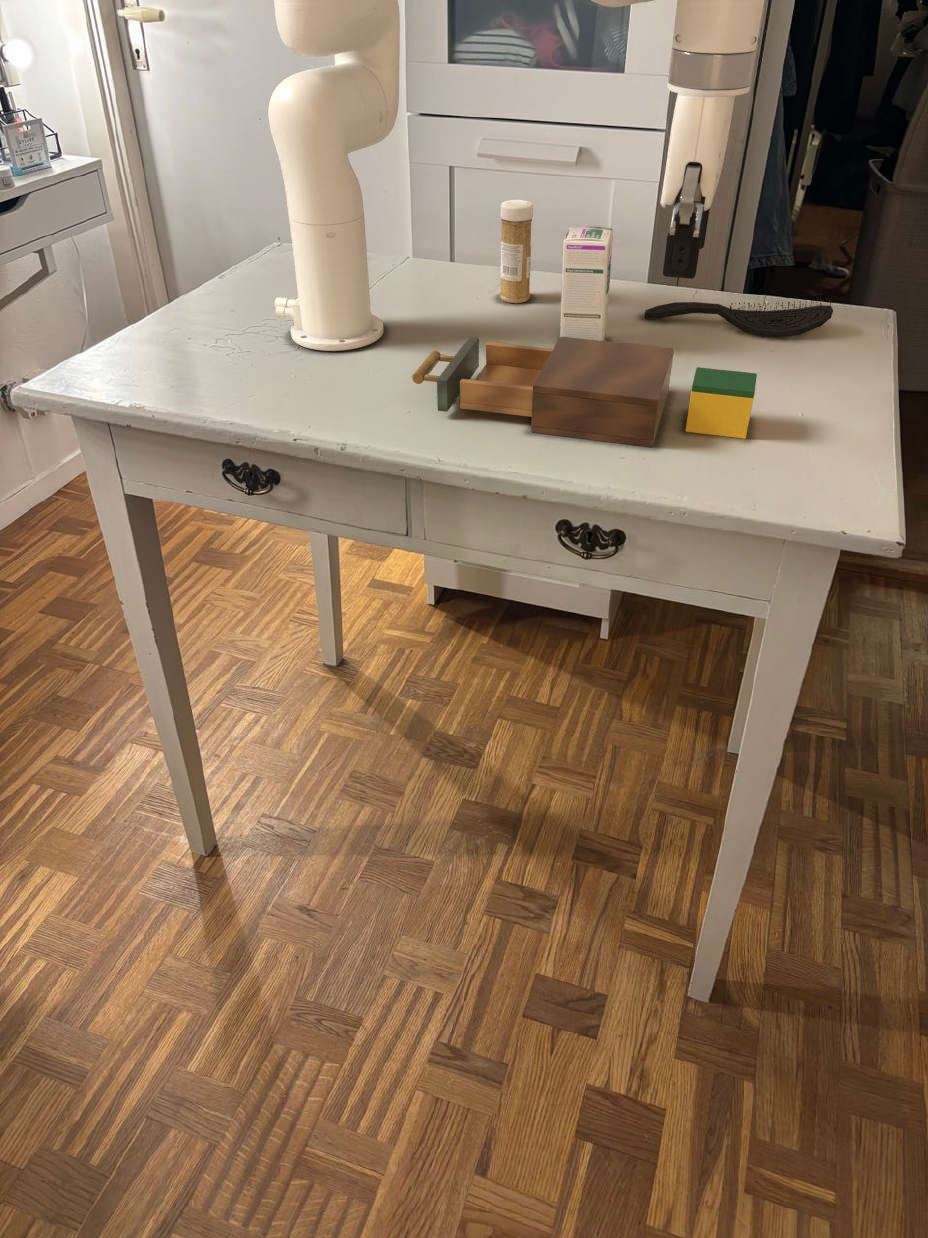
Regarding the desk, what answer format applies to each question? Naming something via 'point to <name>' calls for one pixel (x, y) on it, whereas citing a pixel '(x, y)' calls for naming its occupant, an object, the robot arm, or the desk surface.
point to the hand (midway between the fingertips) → (683, 261)
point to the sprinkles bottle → (515, 250)
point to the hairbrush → (754, 317)
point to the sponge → (721, 402)
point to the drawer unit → (602, 391)
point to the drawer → (487, 377)
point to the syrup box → (586, 282)
